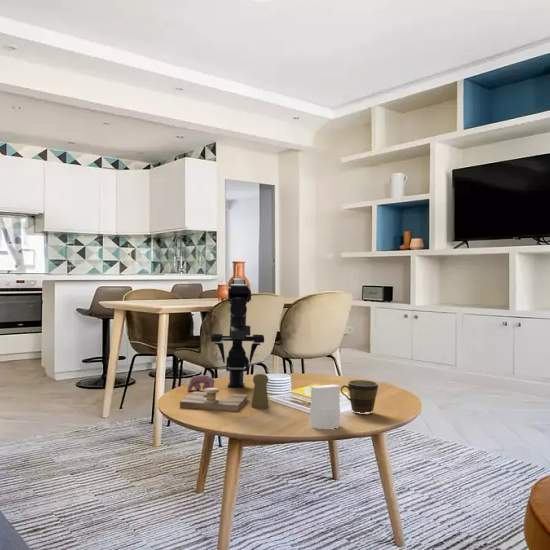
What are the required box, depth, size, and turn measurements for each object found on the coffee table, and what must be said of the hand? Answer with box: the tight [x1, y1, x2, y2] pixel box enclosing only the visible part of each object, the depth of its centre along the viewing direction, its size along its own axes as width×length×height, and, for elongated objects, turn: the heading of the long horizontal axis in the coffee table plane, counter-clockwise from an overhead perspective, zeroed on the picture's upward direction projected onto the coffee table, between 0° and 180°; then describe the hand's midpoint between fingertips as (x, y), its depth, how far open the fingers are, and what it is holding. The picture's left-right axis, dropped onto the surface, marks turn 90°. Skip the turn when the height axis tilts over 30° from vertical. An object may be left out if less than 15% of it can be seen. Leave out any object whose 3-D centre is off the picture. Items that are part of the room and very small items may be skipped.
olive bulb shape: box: [250, 373, 269, 409], centre depth 186 cm, size 6×6×11 cm
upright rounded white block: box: [309, 383, 341, 430], centre depth 164 cm, size 9×9×12 cm
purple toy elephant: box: [187, 374, 215, 392], centre depth 209 cm, size 10×5×7 cm, turn 84°
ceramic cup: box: [340, 379, 379, 413], centre depth 180 cm, size 13×10×10 cm
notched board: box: [179, 387, 249, 412], centre depth 188 cm, size 16×20×6 cm
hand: (237, 363), depth 191 cm, fingers open, 9 cm apart
